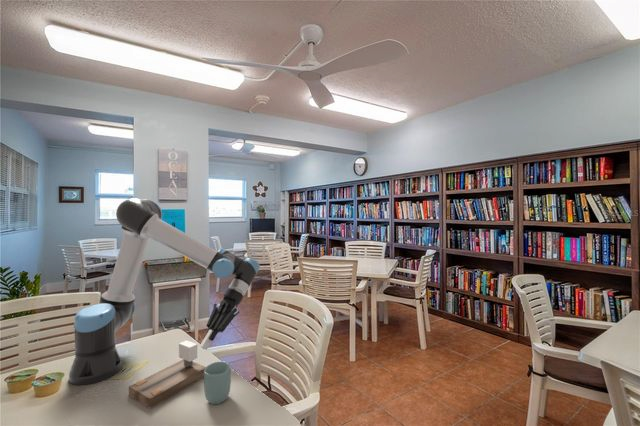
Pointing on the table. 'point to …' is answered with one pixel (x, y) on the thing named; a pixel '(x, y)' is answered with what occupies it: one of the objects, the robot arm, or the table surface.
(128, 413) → the table surface
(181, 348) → the fader knob
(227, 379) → the cup
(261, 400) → the table surface
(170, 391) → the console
